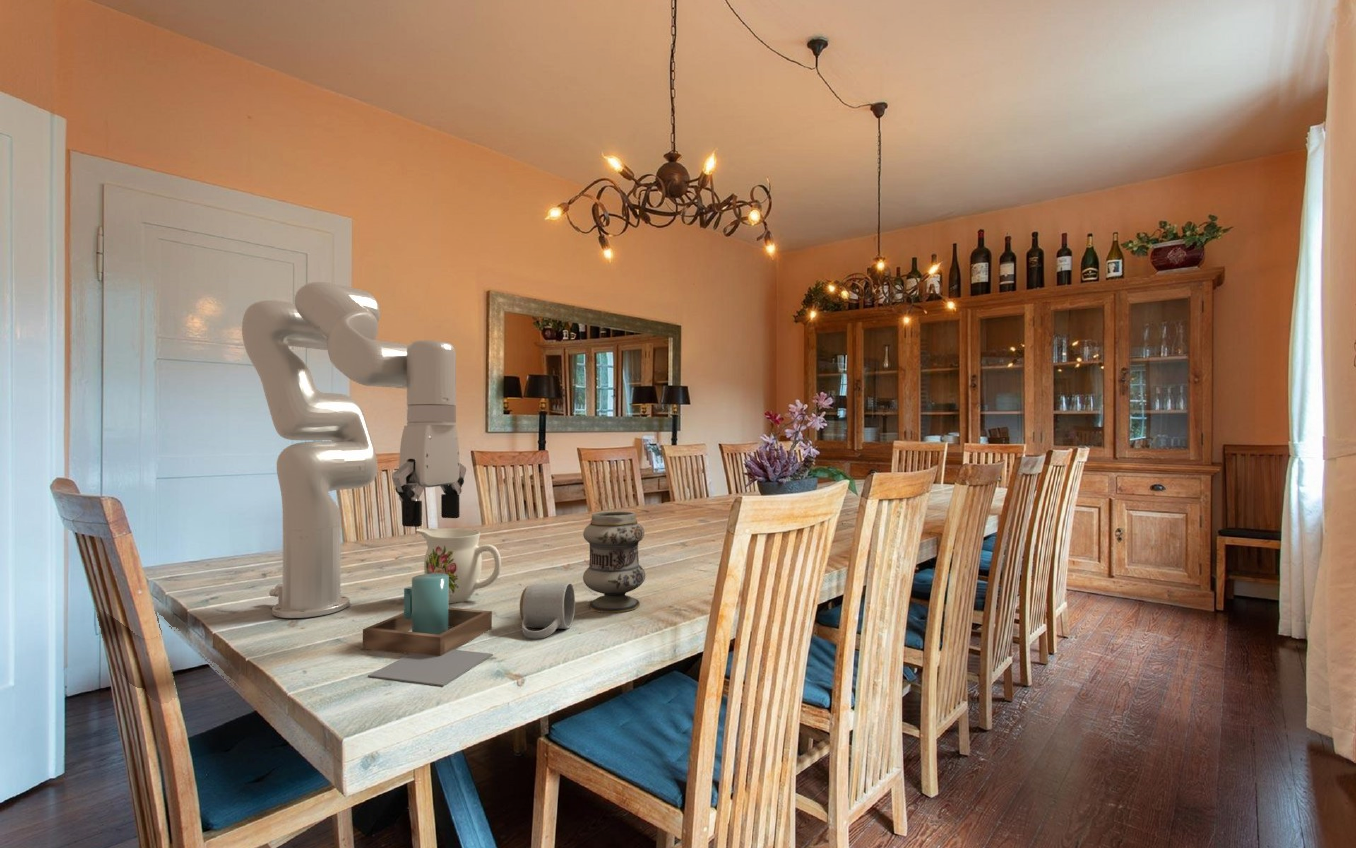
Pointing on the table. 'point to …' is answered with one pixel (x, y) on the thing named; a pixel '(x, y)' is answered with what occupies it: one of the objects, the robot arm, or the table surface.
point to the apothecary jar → (614, 560)
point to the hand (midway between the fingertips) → (432, 521)
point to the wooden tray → (398, 640)
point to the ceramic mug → (547, 608)
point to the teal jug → (428, 603)
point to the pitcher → (458, 560)
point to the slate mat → (431, 667)
